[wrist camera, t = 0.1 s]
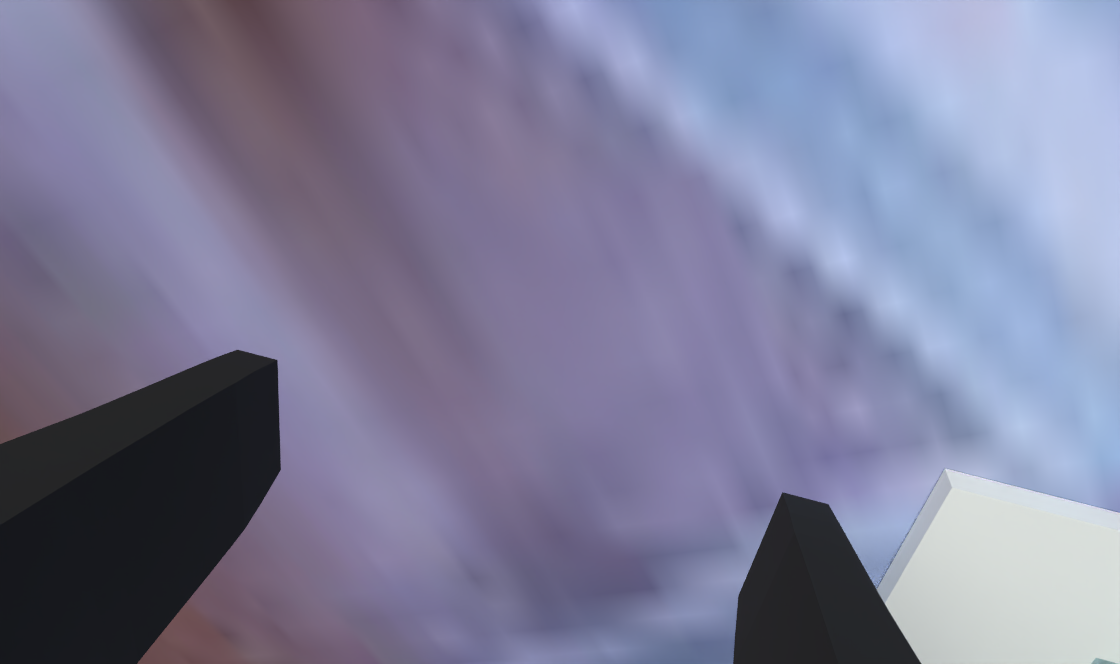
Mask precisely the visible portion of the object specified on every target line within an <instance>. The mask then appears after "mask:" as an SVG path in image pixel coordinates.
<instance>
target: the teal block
mask: <svg viewBox="0 0 1120 664" xmlns="http://www.w3.org/2000/svg"><path fill="white" fill-rule="evenodd" d="M1091 664H1118V663H1114V662H1110V661H1107V660H1103V659H1099V658H1095V660H1094V661H1093V662H1092V663H1091Z"/></svg>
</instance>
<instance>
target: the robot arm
mask: <svg viewBox="0 0 1120 664" xmlns="http://www.w3.org/2000/svg"><path fill="white" fill-rule="evenodd" d="M280 470H281V464H280V431H279V398H278V365H277V360H275V359H271V358H267V357H263V356H259V355H256V354H252V353H248V352H244V351H240V350H236V351H233V352H230V353H227V354H224V355H222V356H219V357H216V358H214V359H211V360H209V361H206V362H204V363H201V364H199V365H197V366H194V367H192V368H189V369H187V370H185V371H182V372H180V373H178V374H175V375H173V376H170V377H168V378H166V379H163V380H161V381H159V382H156V383H154V384H152V385H149V386H147V387H145V388H142V389H140V390H137V391H135V392H133V393H130V394H128V395H125V396H123V397H121V398H118V399H116V400H113V401H111V402H109V403H106V404H104V405H101V406H99V407H97V408H94V409H92V410H89V411H87V412H84V413H82V414H79V415H76V416H74V417H71V418H69V419H66V420H63V421H61V422H58V423H55V424H53V425H50V426H47V427H45V428H42V429H39V430H37V431H34V432H31V433H29V434H26V435H23V436H21V437H18V438H15V439H13V440H10V441H8V442H5V443H2V444H0V664H137V663H138V661H139V660H140V659H141V658H142V657H143V655H144V654H145V653H146V652H147V650H148V649H149V648H150V647H151V645H152V644H153V643H154V642H155V640H156V639H157V638H158V637H159V635H160V634H161V633H162V632H163V631H164V629H165V628H166V627H167V626H168V624H169V623H170V622H171V621H172V619H173V618H174V617H175V616H176V614H177V613H178V612H179V611H180V610H181V608H182V607H183V606H184V605H185V603H186V602H187V601H188V600H189V598H190V597H191V596H192V595H193V593H194V592H195V591H196V590H197V589H198V587H199V586H200V585H201V584H202V582H203V581H204V580H205V579H206V577H207V576H208V575H209V574H210V572H211V571H212V570H213V569H214V567H215V566H216V565H217V564H218V562H219V561H220V560H221V559H222V557H223V556H224V555H225V554H226V552H227V551H228V550H229V549H230V547H231V546H232V545H233V543H234V542H235V541H236V540H237V538H238V537H239V536H240V534H241V533H242V532H243V531H244V529H245V528H246V526H247V525H248V523H249V521H250V520H251V518H252V517H253V515H254V514H255V512H256V510H257V509H258V507H259V506H260V504H261V502H262V501H263V499H264V497H265V496H266V494H267V492H268V490H269V489H270V487H271V485H272V484H273V482H274V480H275V479H276V477H277V475H278V473H279V472H280ZM733 664H921V662H920V661H919V659H918V657H917V656H916V654H915V653H914V651H913V649H912V648H911V646H910V644H909V643H908V641H907V640H906V638H905V636H904V635H903V633H902V631H901V630H900V628H899V627H898V625H897V623H896V622H895V620H894V618H893V617H892V615H891V613H890V612H889V610H888V608H887V607H886V605H885V603H884V602H883V600H882V598H881V596H880V595H879V593H878V591H877V590H876V588H875V586H874V584H873V583H872V581H871V579H870V577H869V576H868V574H867V572H866V570H865V568H864V567H863V565H862V563H861V561H860V560H859V558H858V556H857V554H856V552H855V551H854V549H853V547H852V545H851V544H850V542H849V540H848V538H847V536H846V535H845V533H844V531H843V529H842V527H841V526H840V524H839V522H838V520H837V519H836V517H835V515H834V513H833V512H832V510H831V508H830V506H829V505H828V504H825V503H821V502H817V501H813V500H810V499H806V498H802V497H798V496H794V495H790V494H787V493H783V492H782V495H781V497H780V499H779V502H778V504H777V506H776V509H775V511H774V514H773V516H772V518H771V521H770V523H769V525H768V528H767V530H766V532H765V535H764V537H763V539H762V542H761V544H760V547H759V549H758V551H757V554H756V556H755V558H754V561H753V563H752V565H751V568H750V570H749V572H748V575H747V577H746V580H745V582H744V584H743V587H742V589H741V591H740V594H739V597H738V608H737V620H736V632H735V647H734V662H733Z"/></svg>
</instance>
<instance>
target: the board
mask: <svg viewBox="0 0 1120 664" xmlns="http://www.w3.org/2000/svg"><path fill="white" fill-rule="evenodd" d="M877 591H878V593H879V595H880V596H881V598H882V600H883V602H884V603H885V605H886V607H887V608H888V610H889V612H890V613H891V615H892V617H893V618H894V620H895V622H896V623H897V625H898V627H899V628H900V630H901V631H902V633H903V635H904V636H905V638H906V640H907V641H908V643H909V644H910V646H911V648H912V649H913V651H914V653H915V654H916V656H917V657H918V659H919V661H920V662H921V664H1091V663H1092V662H1093V661H1094V660H1095V658H1099V659H1103V660H1107V661H1110V662H1114V663H1118V664H1120V513H1118V512H1114V511H1110V510H1106V509H1102V508H1098V507H1094V506H1090V505H1086V504H1082V503H1079V502H1075V501H1071V500H1067V499H1063V498H1059V497H1055V496H1051V495H1047V494H1043V493H1039V492H1035V491H1032V490H1028V489H1024V488H1020V487H1016V486H1012V485H1008V484H1004V483H1000V482H996V481H992V480H988V479H985V478H981V477H977V476H973V475H969V474H965V473H961V472H957V471H953V470H949V469H944V471H943V473H942V474H941V476H940V478H939V480H938V482H937V483H936V485H935V487H934V489H933V490H932V492H931V494H930V496H929V498H928V499H927V501H926V503H925V505H924V506H923V508H922V510H921V512H920V514H919V515H918V517H917V519H916V521H915V522H914V524H913V526H912V528H911V530H910V531H909V533H908V535H907V537H906V538H905V540H904V542H903V544H902V545H901V547H900V549H899V551H898V553H897V554H896V556H895V558H894V560H893V561H892V563H891V565H890V567H889V569H888V570H887V572H886V574H885V576H884V577H883V579H882V581H881V583H880V585H879V586H878V588H877Z"/></svg>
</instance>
